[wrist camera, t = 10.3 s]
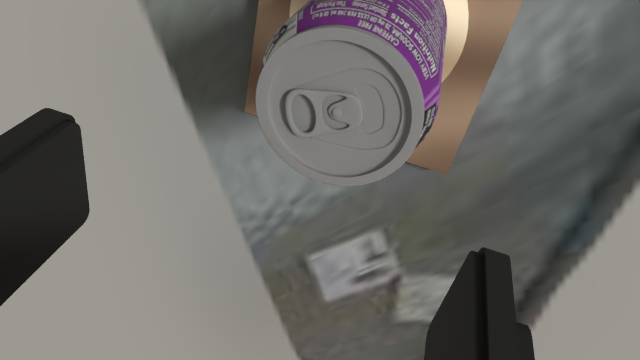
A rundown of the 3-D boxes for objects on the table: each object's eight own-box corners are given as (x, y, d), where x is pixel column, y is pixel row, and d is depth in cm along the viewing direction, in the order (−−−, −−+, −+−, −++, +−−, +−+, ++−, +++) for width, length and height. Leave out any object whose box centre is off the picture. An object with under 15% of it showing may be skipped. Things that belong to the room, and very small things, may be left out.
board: (289, -176, 25) (279, -177, 24) (563, -105, 24) (569, -103, 22) (250, 104, 34) (242, 114, 33) (447, 165, 33) (446, 177, 32)
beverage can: (327, 86, 30) (262, 194, 20) (311, -39, 27) (223, 20, 17) (447, 82, 28) (438, 199, 19) (447, -53, 25) (437, 4, 15)
